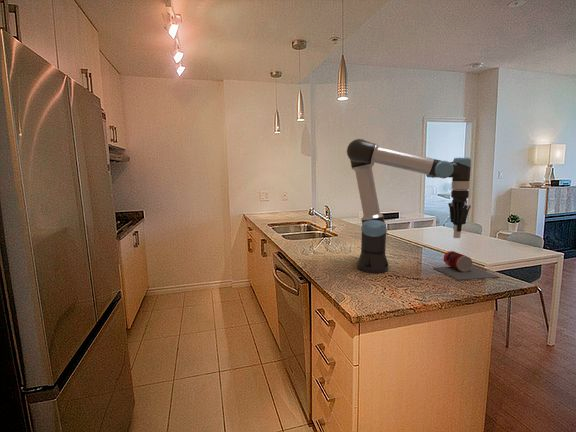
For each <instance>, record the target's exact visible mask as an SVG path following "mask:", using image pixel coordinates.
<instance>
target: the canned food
mask: <svg viewBox="0 0 576 432" xmlns="http://www.w3.org/2000/svg"><path fill="white" fill-rule="evenodd" d="M443 262H444V263H445V265H446V266H447V267H453V268H455V269H457V270H459V271H462V272H467V271H469V270H470V269H471V267H472V266H473V260H472V259H471V257H470V256H467V255H465V254H461V253H460V252H456V251H453V250H449V251H447V252H445V254H444V255H443Z"/></svg>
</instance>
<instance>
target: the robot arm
mask: <svg viewBox="0 0 576 432" xmlns="http://www.w3.org/2000/svg"><path fill="white" fill-rule="evenodd" d="M346 154H347V158H348V159H349V160H350V167H351V169H352V170H353V171H354V172H355V176H356V183H357V188H358V193H359V198H360V204H361V210H362V215H363V216H362V217H361V239H360V240H361V245H360V249H361V250H360V254H359V257H358V259H357V262H356V269H358V270H359V271H362V272H365V273H371V274H372V273H373V274H380V273H387V272H388V271H389V261H388V259H387V256H386V255H387V254H386V247H387V245H386V244H387V243H386V242H387V232H388V228H387V224H386V222H385V217H384V214H382V213H381V212H380V211H381V210H380V207H379V206H380V205H379V201H378V195H377V191H376V190H377V189H376V183H375V178H374V173H373V167H374V165H375V164H379V165H385V166H388V167H391V168H392V167H393V168H397V169H401V170H406V171H409V172H415V173H419V174H423V175H425V176H426V177H427V178H432V179H434V178H440V179H446V178H448V179H449V178H451V196H450V197H451V199H452V200H451V201H452V202H448V203H447V205H448V207H449V217H450V223H452V224H453V228H452V229H453V235H452V236H453V239H461V232H462V227H463V226H464V225H465V224H466V223H467V219H468V216H469V215H468V214H469V212H470V209H471V205H469V204H468V200H467V199H469V198H470V197H469V194H470V191H469V189H470V184H471V182H470V180H471V172H472V171H471V170H472V159H471V158H470V157H455V158H453V160H452V161H448V160H440V159H436V158H432V157H427V156H422V155H418V154H413V153H409V152H404V151H401V150H396V149H392V148H388V147H387V148H385V147H382V146H379V145H378V144H377V143H373V142H370V141H368V140H365V139H363V138H357V139H356V138H355V139H354V140H352V141H351V142H350V143H349V144H348V146H347V149H346Z"/></svg>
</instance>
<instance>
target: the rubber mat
mask: <svg viewBox="0 0 576 432" xmlns="http://www.w3.org/2000/svg"><path fill="white" fill-rule="evenodd" d="M432 269H433V270H435V271H437V272H439V273H440V274H441V273H442V274H444V275H445V276H448V277H450V278H452V279H453V280H455V281H457V282H458V281H461V280H462V281H471V280H470V279H477V280H486V279H485V278H493V279H500V276H498V275H496V274H493V273H491V272H489V271H486V270H484V269H481V268H478V267H476V266H474V265H472V267H471V269H470V270H469V271H467V272H462V271H459V270H457V269H455V268H453V267H451V266H438V267H437V266H436V267H432ZM462 281H461V282H462Z"/></svg>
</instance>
